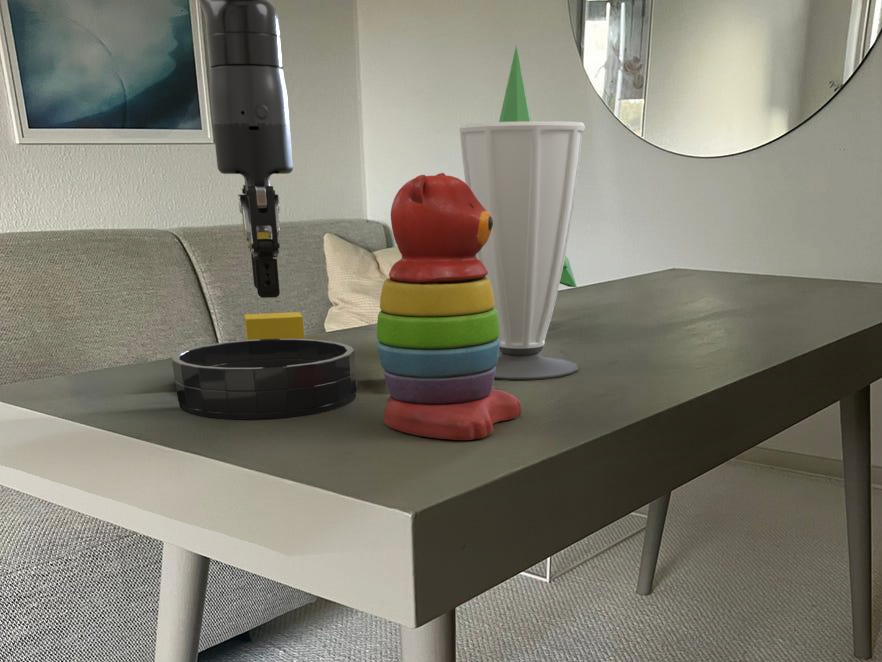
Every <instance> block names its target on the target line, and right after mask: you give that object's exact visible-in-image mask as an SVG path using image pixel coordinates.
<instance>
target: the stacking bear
mask: <svg viewBox="0 0 882 662" xmlns="http://www.w3.org/2000/svg"><path fill="white" fill-rule="evenodd" d="M390 223H391V231H392V234H393V238H394V241H395V244H396V246H397V249H398V251H399V253H400V255H401V259H399V260H397V261H396V262H395V263H394V264H393V265H391V268H390V270H389V272H388V277H389V278H386V279H385V280H384V281H383V283H382V288H381V293H380V298H379V299H380V300H379V308H380V311H379V312H378V314H377V324H376V339H377V340H378V342H377V352H378V357H379V363H380V365H381V368H382V369H383V376H384V380H385V383H386V387H387V391H388V393H389V395H390V396H389V397H388V400H387V402H386V404H385V408H384V413H383V421H384V423H385V425H386V426H387V427H389V428H390V429H393V430H396V431H398V432H402V433H406V434H409V435H414V436H418V437H425V438H430V439H431V438H433V439H439V440H451V441H452V440H453V441H473V440H479V439H484V438H485V437H488V436H490V435H491V434H493V432H494V429H493V425H494V424H496V423H501V422H505V421H511V420H514V419H516V418H517V417H519V416H520V415H521V414H522V405H521V402H520V400H519V399H518V398H517V397H516V396H515V395H513V394H511V393H509V392H507V391H504V390H501V389H495V388H493V386H494V382H495V379H494V377H495V371H496V368H495V366H496V364H497V361H498V357H499V354H500V349H499V346H500V341H499V338H498V337H499V335H500V326H499V318H498V313H497V310H496V309H495V308H494V306H495V301H494V295H493V291H492V287H491V283H490V281H489V279H488V278H486V277H485V276H486V275H487V274H488V271H487V269H486V267H485V266H484V264H483V263H482V262H481V261H480V260H478V259H477V258H476V254H477V253H478V252H479V251H480V250H481V249H482V247H483V246H484V245H485V244H486V242H487V241H488V239H489V236H490V233H491V230H492V227H493V219H492V216H491V215H490V214H489V213H488V211H487V210H486V209H485V208H484V207H483V206H482V205H481V204H480V202H479V201H478V200H477V198H476V197H475V195H474V194H473V192H472V190H471V189H470V188H469V186H468V185H467V184H466V183H465V181H464V180H462V179H460V178H459V177H455V176H453V175H446V174H445V173H444V172H439V173H437V174H435V175H426V174H420V175H418V176H416V177H415V178H412V179H410V180H408V181H406V182H405V183H404V184H403V185H402V186H401V187H400V189H399V190H398V191H397V193H396V194H395V196H394V198H393V201H392V203H391V207H390Z"/></svg>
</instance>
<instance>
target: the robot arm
mask: <svg viewBox="0 0 882 662" xmlns="http://www.w3.org/2000/svg"><path fill="white" fill-rule="evenodd" d="M198 1H199V3H200V7H201V9H202V12H203V15H204V19H205V31H206V33H205V35H206V43H207V52H208V62H209V63H208V64H209V75H210V78H209V80H210V81H209V95H210V96H209V99H210V109H211V118H212V127H213V128H212V129H213V138H214V146H215V156H216V165H217V170H218V172H219V173H221V174H223V175H241V176H242V177H243V179H244V184H243V185H242V188H241V191H242V192H241V193H238V194H237V197H238V198H237V200H238V208H239V213H240V214H241V218H242V229H243V235H244V236H245V238H246V242H247V249H249V252H250V257H251V267H252V279H253V286H254V288H255V289H256V290H257V295H258V296H259V297H260V298H262V299H270V298H272V299H273V298H278V297H279V296H280V293H281V291H280V290H281V289H280V278H279V268H278V267H279V266H278V258H279V254H280V248H281V246H280V245H281V244H280V242H279V239H280V237H281V225H280V219H279V214H280V197H279V194H277V193H276V190H275V189H274V186H273V185H271V182H270V177H271V176H272V175H284V174H285V175H289V174H291V173H292V172H293V170H294V161H293V147H292V135H291V124H290V123H291V121H290V108H289V96H288V90H287V85H286V80H285V74H284V64H283V51H282V49H283V48H282V36H281V25H280V20H279V19H280V18H279V14H278V11H277V9H276V7H275V5H274V4H273V3H272V2H271V1H270V0H198Z"/></svg>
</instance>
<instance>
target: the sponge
mask: <svg viewBox="0 0 882 662" xmlns="http://www.w3.org/2000/svg"><path fill="white" fill-rule="evenodd" d="M243 318H244V326H245V334H246V340H260V339H306V338H305V326H304V317H303V315H302V313H301V312H300V311H294V312H291V311H289V312H271V313H270V312H269V313H249V314H247V313H246V314H244V315H243Z"/></svg>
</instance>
